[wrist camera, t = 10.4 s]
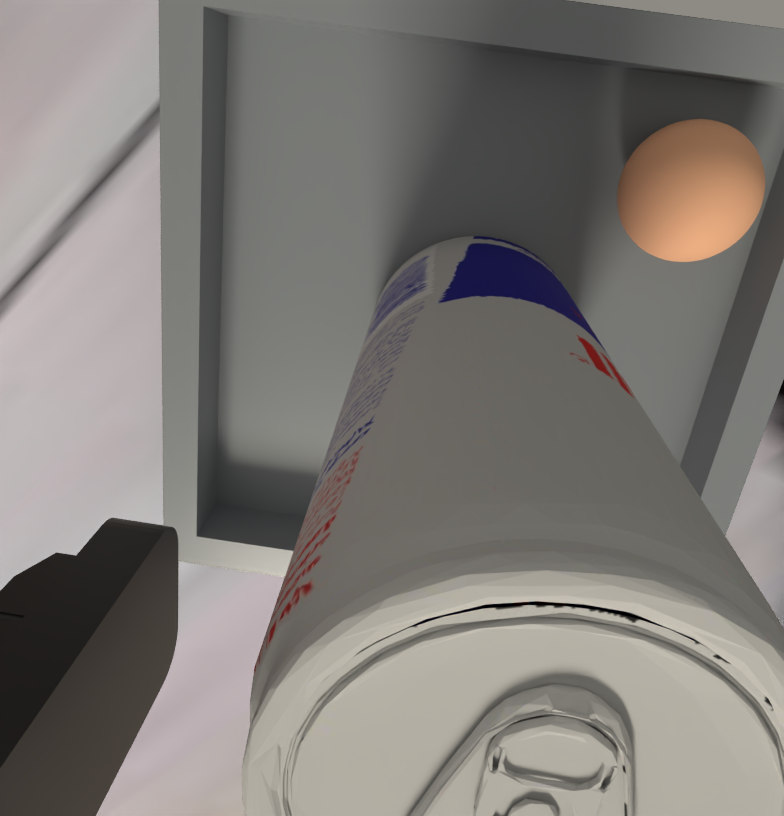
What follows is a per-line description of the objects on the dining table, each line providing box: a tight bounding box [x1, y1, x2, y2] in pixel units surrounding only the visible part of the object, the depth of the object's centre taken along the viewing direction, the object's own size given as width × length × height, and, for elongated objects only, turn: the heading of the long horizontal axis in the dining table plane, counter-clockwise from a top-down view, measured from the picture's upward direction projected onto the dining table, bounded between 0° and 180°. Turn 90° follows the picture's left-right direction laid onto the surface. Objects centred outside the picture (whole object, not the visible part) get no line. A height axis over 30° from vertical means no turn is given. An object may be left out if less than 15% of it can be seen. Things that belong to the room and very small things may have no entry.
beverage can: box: [242, 236, 784, 816], centre depth 13 cm, size 6×6×15 cm
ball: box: [617, 119, 765, 262], centre depth 17 cm, size 3×3×3 cm
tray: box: [159, 0, 784, 577], centre depth 19 cm, size 16×16×2 cm
